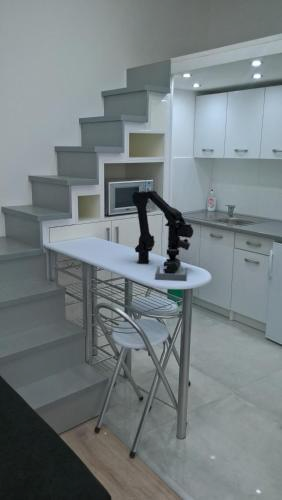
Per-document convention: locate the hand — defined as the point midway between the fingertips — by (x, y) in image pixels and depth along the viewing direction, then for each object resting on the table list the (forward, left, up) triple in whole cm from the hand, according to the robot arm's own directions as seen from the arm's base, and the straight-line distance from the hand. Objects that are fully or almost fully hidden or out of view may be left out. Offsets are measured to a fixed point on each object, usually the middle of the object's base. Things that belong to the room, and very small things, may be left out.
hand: (173, 264), depth 226 cm
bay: (+14, 0, -3) cm, 14 cm away
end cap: (+7, 0, -3) cm, 8 cm away
